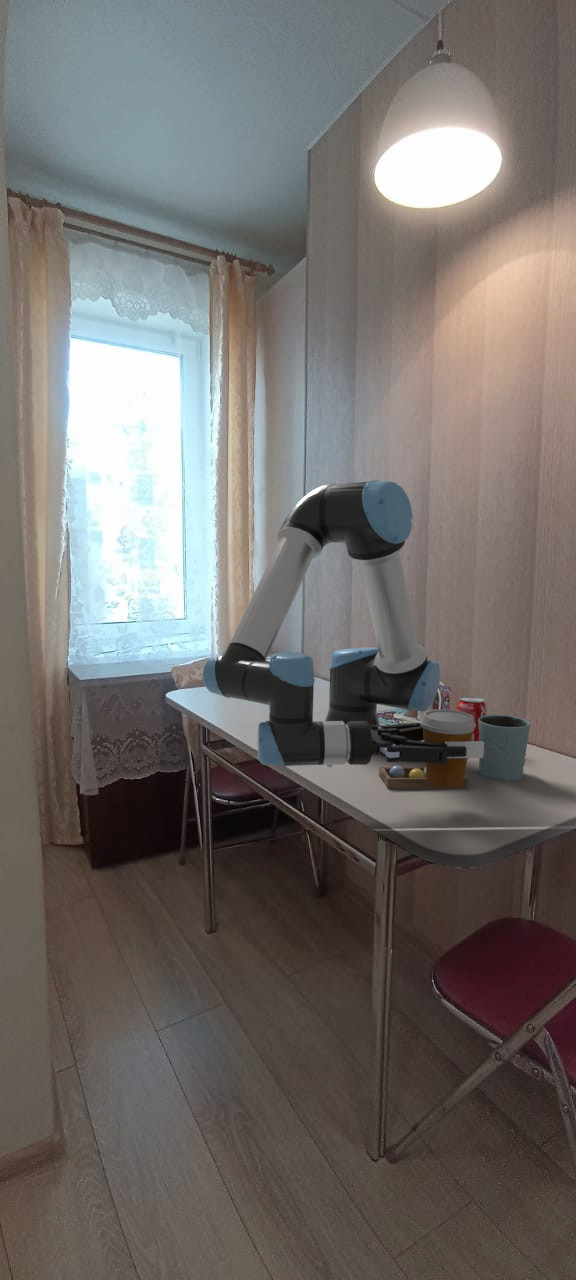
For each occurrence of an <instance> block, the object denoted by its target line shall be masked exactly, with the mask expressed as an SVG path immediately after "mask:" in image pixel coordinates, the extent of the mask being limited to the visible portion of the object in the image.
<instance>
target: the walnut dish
mask: <svg viewBox="0 0 576 1280" xmlns="http://www.w3.org/2000/svg"><path fill="white" fill-rule="evenodd" d="M392 767H393V766H387V767H386V766H379V769H378V770H379V771H378V776H379V779H380V780H381V781H382V783H383V785H384V786H385V787H386V789H387V790H389V789H467V788H468V783H469V782H468V781H469V779H468V777H467V776H465V775H464V780H463V784H462V785H460V786H457V787H442V786H437V785H434V784H432V783H430V782H428V781H427V778H425V776H424V778H409V773H410V771H411V770H412V769H415V768H417V769H420V770H422V771H423V772H424V769H425V767H426V766H401V767H402V768H403V769H404V772H405V775H404V777H403V778H391V777H390V769H391V768H392Z"/></svg>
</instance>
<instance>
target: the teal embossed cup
mask: <svg viewBox="0 0 576 1280" xmlns="http://www.w3.org/2000/svg"><path fill="white" fill-rule="evenodd" d="M478 724H479V734H480V735H479V741H483V742H484V752H483V758H478V759H479V774H480V775H481V776H483V777H484V778H487V779H491V780H494V781H499V782H517V781H520V780H522V779H523V776H524V766H525V761H526V756H527V747H528V739H529V734H530V728H531V723H530V721H528V720H526V719H525V718H521V717H518V716H515V715H507V714H488V715H485V716H482V717H480V718H479V719H478Z"/></svg>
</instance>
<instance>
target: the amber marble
mask: <svg viewBox="0 0 576 1280" xmlns="http://www.w3.org/2000/svg"><path fill="white" fill-rule="evenodd" d="M409 778H424V773H423V771H422V770H420V769H417V768H415V769H412V770H411V771H410V773H409Z"/></svg>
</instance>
